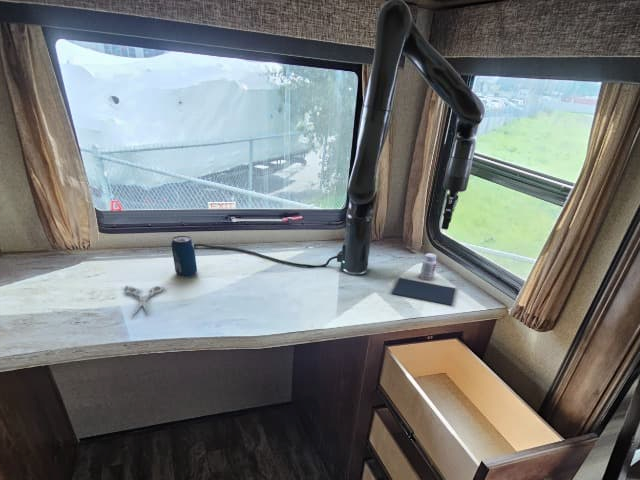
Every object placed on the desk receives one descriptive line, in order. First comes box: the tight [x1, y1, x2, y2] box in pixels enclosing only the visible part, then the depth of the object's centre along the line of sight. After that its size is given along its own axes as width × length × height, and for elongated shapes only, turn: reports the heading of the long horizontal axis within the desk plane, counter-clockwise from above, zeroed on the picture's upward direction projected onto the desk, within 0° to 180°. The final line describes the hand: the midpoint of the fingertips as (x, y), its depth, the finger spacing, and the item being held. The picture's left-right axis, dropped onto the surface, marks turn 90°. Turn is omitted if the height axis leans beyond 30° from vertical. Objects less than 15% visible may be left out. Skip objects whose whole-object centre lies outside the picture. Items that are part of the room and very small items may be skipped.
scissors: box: [125, 285, 163, 316], centre depth 127 cm, size 11×1×20 cm
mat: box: [391, 277, 456, 307], centre depth 148 cm, size 20×14×1 cm
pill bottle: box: [419, 252, 438, 281], centre depth 156 cm, size 5×5×8 cm
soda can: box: [170, 235, 198, 278], centre depth 142 cm, size 7×7×12 cm
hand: (445, 225), depth 145 cm, fingers open, 8 cm apart
